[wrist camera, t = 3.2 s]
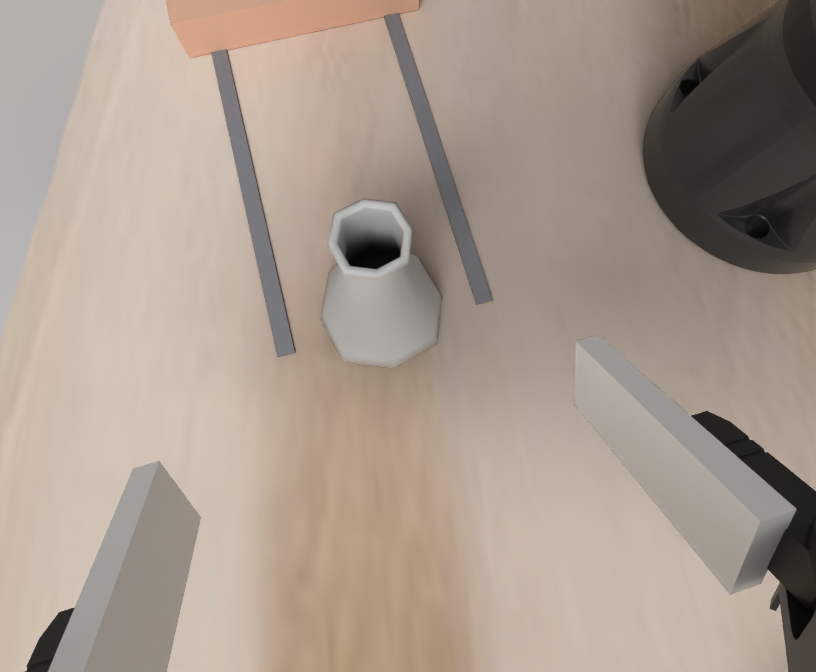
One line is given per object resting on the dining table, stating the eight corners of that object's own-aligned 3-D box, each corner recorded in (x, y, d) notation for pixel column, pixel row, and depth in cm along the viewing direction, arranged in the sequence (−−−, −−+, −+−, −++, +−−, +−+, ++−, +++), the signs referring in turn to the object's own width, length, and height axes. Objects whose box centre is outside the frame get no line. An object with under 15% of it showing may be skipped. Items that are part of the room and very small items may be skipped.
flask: (454, 357, 26) (487, 311, 16) (331, 380, 25) (286, 348, 15) (429, 243, 27) (445, 136, 17) (312, 263, 27) (260, 166, 17)
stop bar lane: (409, -18, 31) (410, -56, 29) (516, 294, 26) (528, 279, 24) (183, 29, 30) (164, -7, 28) (252, 363, 25) (236, 356, 23)
